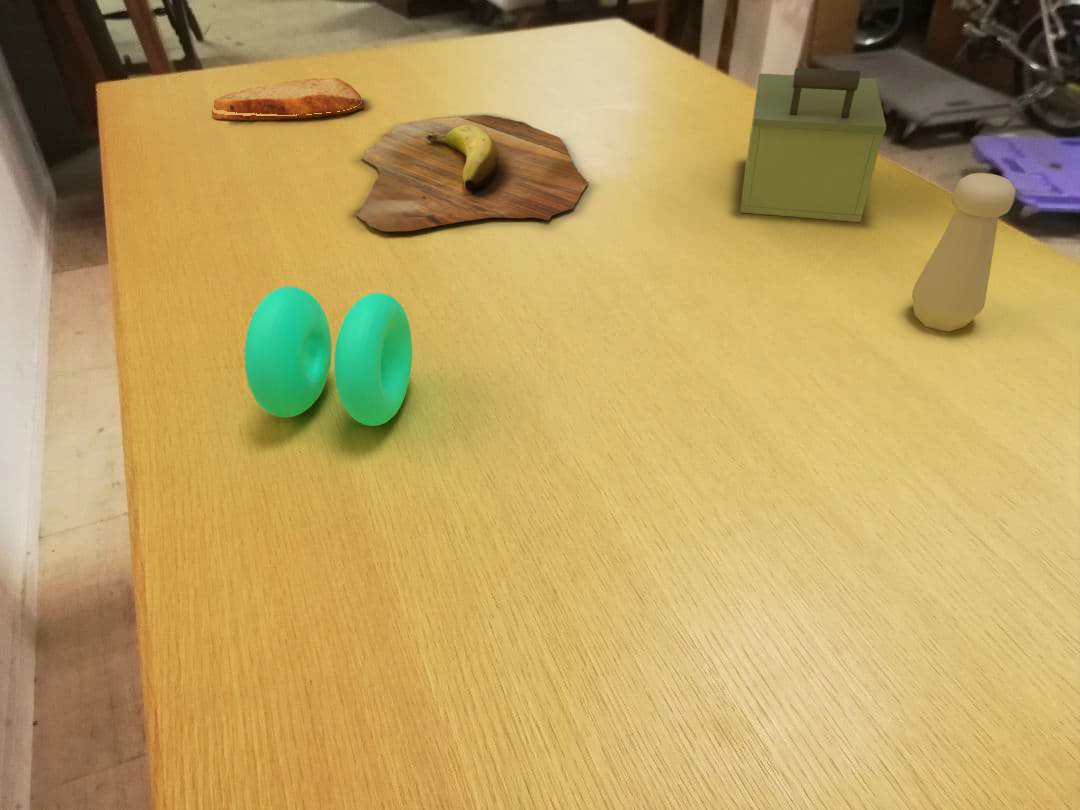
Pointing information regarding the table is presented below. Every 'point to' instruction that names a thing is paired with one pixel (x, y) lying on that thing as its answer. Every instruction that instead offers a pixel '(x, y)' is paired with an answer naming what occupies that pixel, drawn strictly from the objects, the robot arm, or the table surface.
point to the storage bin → (808, 172)
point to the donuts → (328, 355)
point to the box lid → (819, 101)
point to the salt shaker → (963, 254)
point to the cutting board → (468, 173)
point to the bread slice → (291, 100)
